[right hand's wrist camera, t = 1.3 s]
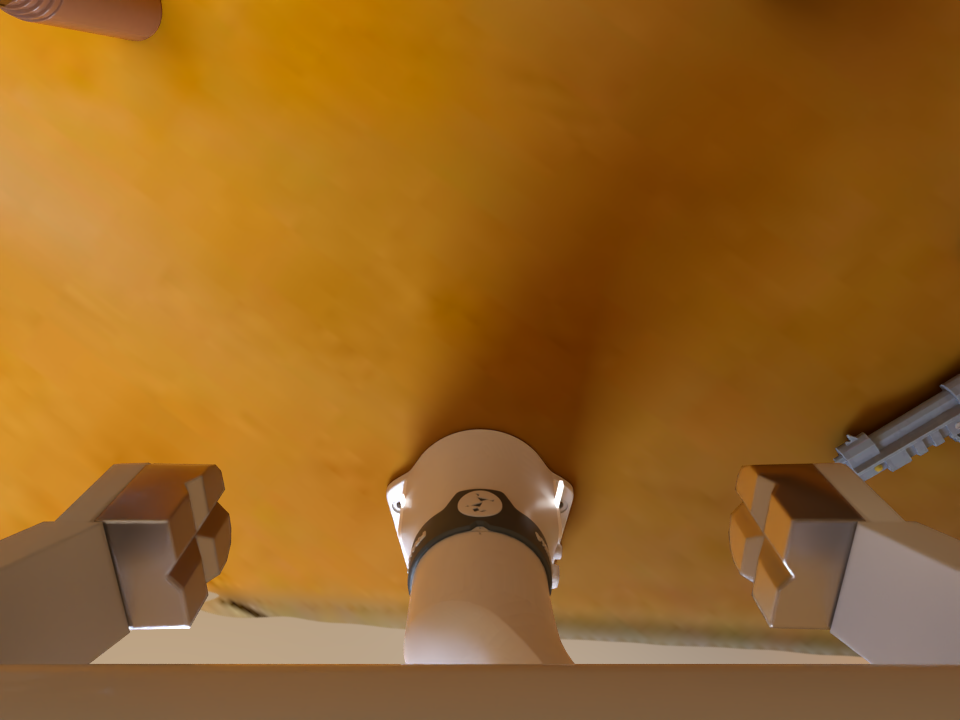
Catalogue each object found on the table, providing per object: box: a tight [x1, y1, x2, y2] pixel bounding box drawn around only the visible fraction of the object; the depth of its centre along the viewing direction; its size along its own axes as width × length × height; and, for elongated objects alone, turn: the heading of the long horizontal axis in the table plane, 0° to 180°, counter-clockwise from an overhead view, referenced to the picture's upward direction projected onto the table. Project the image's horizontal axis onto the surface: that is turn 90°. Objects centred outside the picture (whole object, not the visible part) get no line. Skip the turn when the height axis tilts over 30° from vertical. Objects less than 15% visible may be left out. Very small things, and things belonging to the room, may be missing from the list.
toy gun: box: [834, 374, 960, 481], centre depth 62 cm, size 4×19×15 cm
